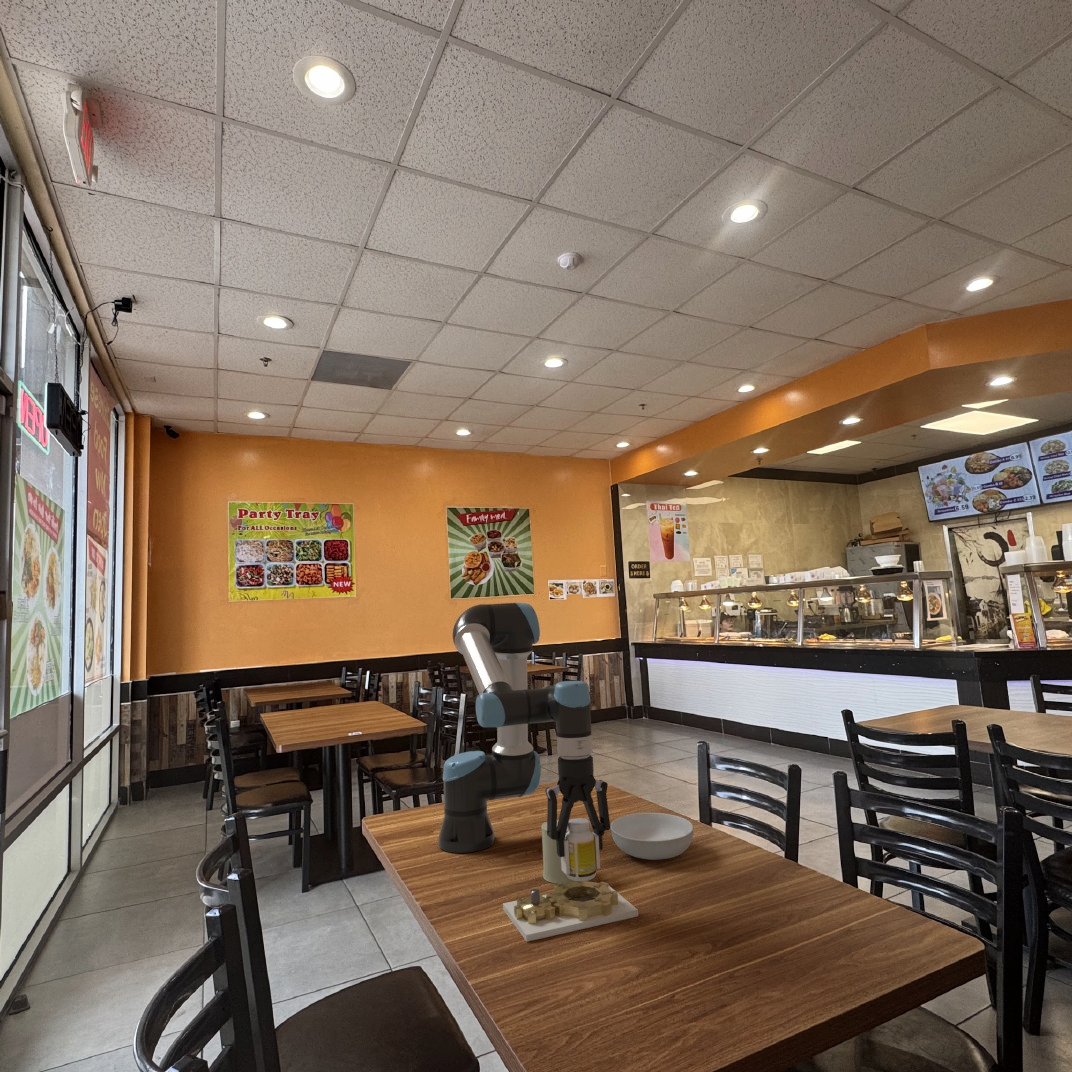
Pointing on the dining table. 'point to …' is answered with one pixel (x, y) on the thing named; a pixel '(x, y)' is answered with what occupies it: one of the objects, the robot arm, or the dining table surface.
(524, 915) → the gear
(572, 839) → the pill bottle
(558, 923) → the gear board
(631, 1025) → the dining table surface
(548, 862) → the can
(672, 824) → the serving bowl
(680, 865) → the dining table surface
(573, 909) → the gear
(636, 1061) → the dining table surface
